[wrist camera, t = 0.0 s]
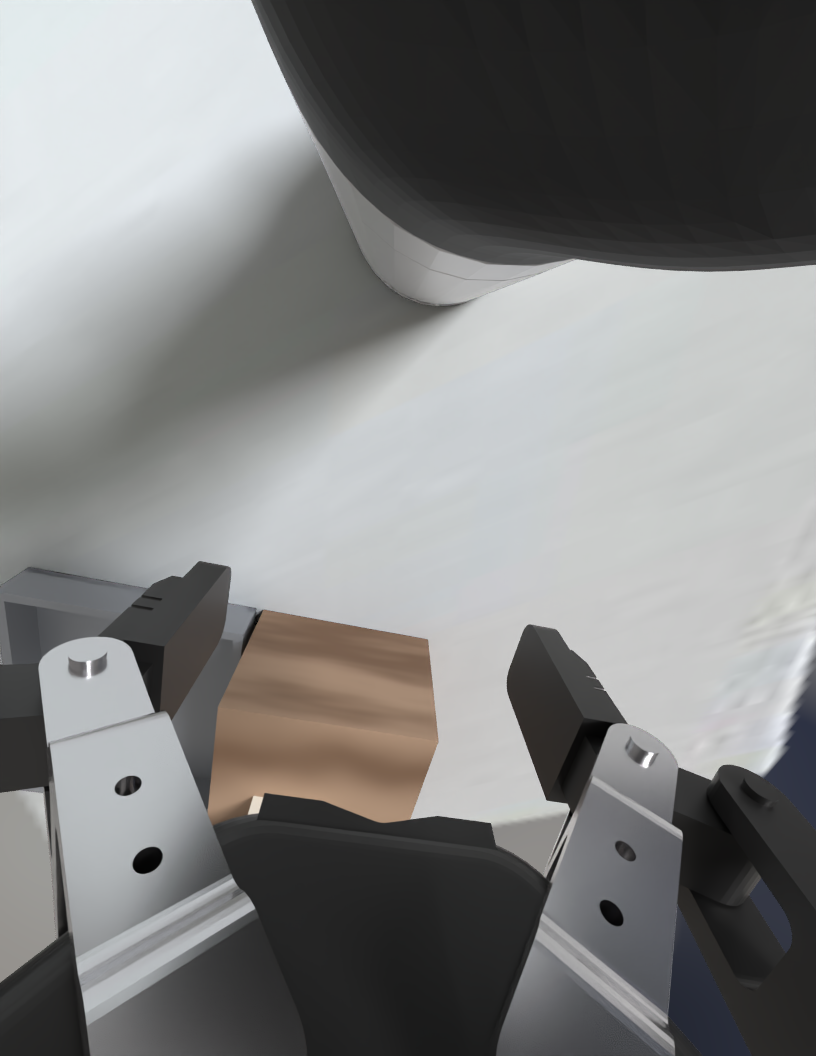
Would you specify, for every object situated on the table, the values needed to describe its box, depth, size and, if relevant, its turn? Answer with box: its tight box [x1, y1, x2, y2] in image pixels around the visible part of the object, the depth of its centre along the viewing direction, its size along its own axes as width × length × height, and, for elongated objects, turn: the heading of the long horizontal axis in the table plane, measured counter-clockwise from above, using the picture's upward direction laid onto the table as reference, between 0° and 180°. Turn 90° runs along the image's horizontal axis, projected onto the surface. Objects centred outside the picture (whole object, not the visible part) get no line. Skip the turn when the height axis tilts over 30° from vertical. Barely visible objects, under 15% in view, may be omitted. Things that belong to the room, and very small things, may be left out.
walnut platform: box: [208, 610, 438, 826], centre depth 32 cm, size 18×12×9 cm, turn 166°
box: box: [0, 567, 256, 813], centre depth 33 cm, size 18×15×3 cm
